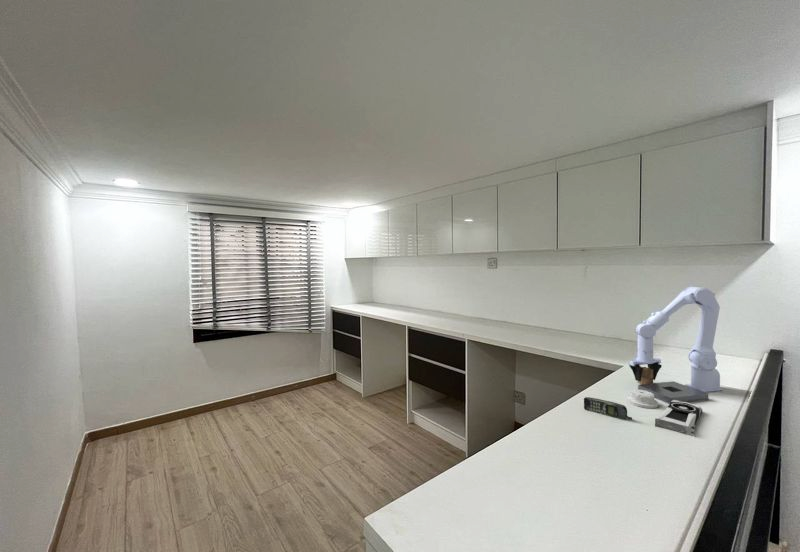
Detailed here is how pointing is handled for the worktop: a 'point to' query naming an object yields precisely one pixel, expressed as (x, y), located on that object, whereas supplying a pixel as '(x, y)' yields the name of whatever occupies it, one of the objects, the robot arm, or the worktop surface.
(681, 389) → the hole plate
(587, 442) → the worktop surface
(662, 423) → the graphics card
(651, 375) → the walnut peg
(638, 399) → the mechanical component
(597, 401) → the mobile phone
